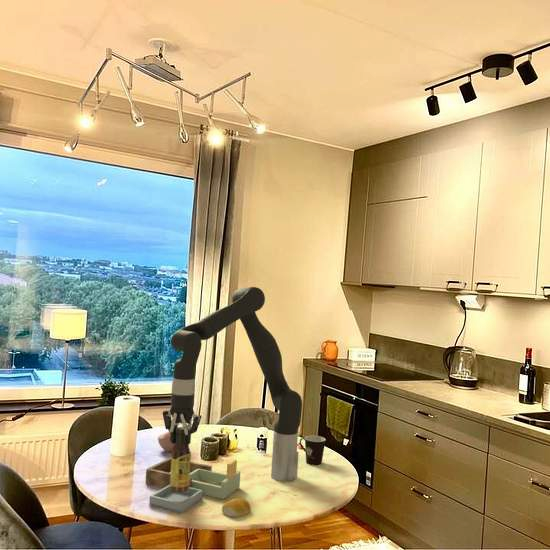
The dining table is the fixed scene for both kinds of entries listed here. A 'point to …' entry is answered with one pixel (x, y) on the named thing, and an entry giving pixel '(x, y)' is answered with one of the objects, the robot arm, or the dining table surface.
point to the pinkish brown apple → (166, 441)
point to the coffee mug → (314, 449)
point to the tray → (175, 499)
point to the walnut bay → (161, 475)
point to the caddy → (217, 481)
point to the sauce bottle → (180, 464)
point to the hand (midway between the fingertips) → (180, 444)
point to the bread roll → (236, 507)
